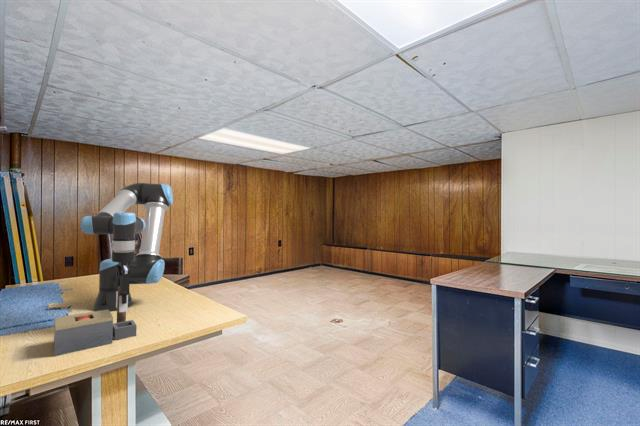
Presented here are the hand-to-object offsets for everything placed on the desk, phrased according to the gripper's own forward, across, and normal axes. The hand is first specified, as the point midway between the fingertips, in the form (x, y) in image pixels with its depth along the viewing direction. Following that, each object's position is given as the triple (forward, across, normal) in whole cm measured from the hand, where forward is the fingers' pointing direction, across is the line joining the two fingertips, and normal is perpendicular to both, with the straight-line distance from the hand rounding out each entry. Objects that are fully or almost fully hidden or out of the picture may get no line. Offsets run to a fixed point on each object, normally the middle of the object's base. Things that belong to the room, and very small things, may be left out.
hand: (121, 309), depth 118 cm
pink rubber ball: (+1, +10, -13) cm, 16 cm away
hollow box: (+7, +10, -12) cm, 17 cm away
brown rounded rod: (+7, 0, 0) cm, 7 cm away
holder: (+7, +10, -1) cm, 12 cm away
